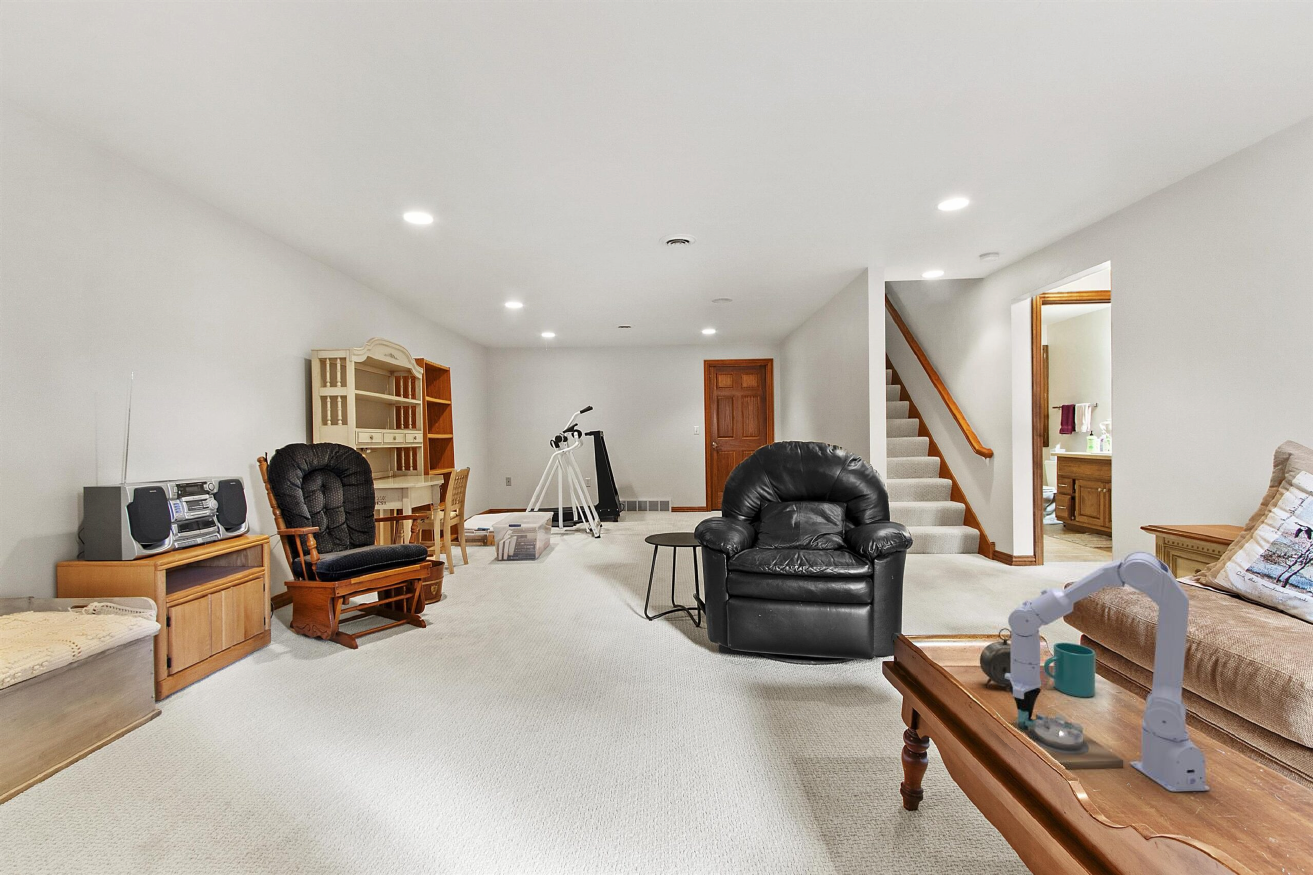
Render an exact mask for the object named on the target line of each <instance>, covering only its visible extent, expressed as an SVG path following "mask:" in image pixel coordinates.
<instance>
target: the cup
mask: <svg viewBox="0 0 1313 875" xmlns="http://www.w3.org/2000/svg"><path fill="white" fill-rule="evenodd" d="M1052 663H1053V674H1052V673H1051V672H1050V665H1051V664H1052ZM1043 670H1044V673H1045V674H1046V676H1048V677H1049V678H1051V679H1052V680H1053V687H1054V688H1055V689H1056V691H1057V690H1058V691H1059V692H1061V693H1062V694H1066V695H1069V696H1074V697H1079V698H1089V697H1093V696H1094V695H1095V694H1096V651H1095V650H1094V649H1092V648H1090V647H1087V646H1085V645H1082V644H1077V643H1070V642H1057V643H1054V644H1053V656H1051V657H1049V658H1047V659H1046V660H1045V661H1044V664H1043Z"/></svg>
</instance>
